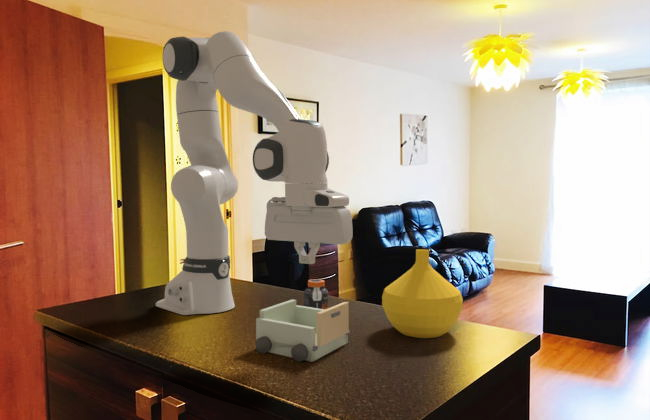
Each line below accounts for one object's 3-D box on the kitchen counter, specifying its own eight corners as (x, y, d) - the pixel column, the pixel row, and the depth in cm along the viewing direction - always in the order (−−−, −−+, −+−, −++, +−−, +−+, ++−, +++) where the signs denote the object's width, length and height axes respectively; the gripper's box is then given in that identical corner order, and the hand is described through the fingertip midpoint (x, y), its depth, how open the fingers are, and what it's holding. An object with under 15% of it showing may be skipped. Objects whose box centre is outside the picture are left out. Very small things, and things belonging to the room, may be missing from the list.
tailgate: (316, 345, 103) (316, 313, 103) (344, 331, 112) (344, 301, 112) (321, 346, 102) (321, 313, 102) (349, 332, 112) (349, 302, 111)
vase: (464, 324, 128) (465, 246, 126) (459, 348, 110) (461, 257, 109) (389, 318, 133) (390, 243, 132) (374, 340, 116) (374, 253, 115)
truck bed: (252, 351, 108) (251, 312, 108) (298, 331, 122) (298, 297, 122) (311, 364, 100) (311, 323, 100) (353, 341, 114) (353, 305, 114)
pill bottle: (325, 331, 122) (325, 283, 122) (301, 329, 124) (300, 282, 123) (330, 324, 128) (330, 278, 128) (307, 322, 129) (306, 277, 129)
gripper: (257, 197, 112) (258, 261, 113) (340, 198, 101) (341, 269, 102) (275, 196, 117) (276, 257, 118) (356, 197, 106) (356, 264, 107)
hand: (307, 263), depth 110 cm, fingers closed
